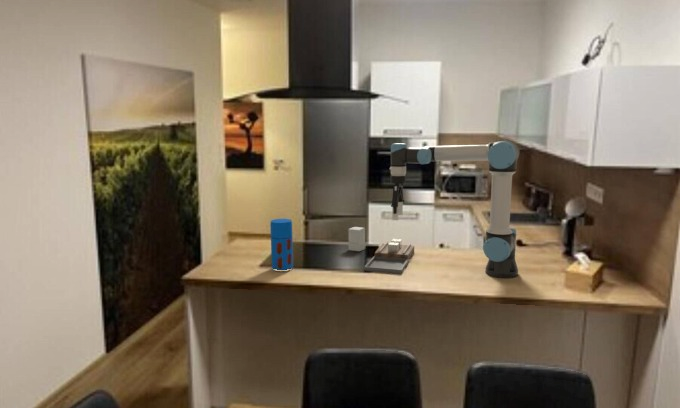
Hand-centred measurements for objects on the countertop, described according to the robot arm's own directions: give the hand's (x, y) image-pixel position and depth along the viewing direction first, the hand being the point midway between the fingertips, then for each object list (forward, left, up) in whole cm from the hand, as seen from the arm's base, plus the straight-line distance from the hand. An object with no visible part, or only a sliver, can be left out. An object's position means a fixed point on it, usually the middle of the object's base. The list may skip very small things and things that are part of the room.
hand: (397, 217), depth 250 cm
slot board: (+5, -22, -26) cm, 34 cm away
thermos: (+55, +17, -27) cm, 64 cm away
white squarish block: (+5, -26, -22) cm, 34 cm away
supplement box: (+29, -30, -27) cm, 49 cm away
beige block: (+5, -18, -22) cm, 29 cm away
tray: (+5, -1, -26) cm, 27 cm away
